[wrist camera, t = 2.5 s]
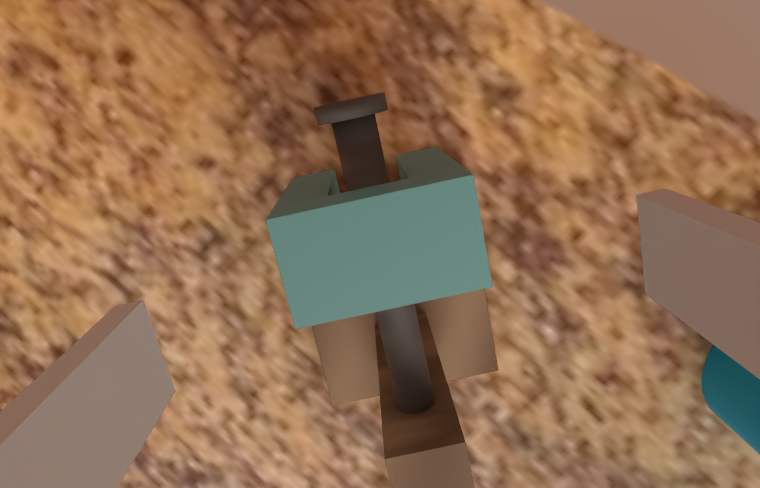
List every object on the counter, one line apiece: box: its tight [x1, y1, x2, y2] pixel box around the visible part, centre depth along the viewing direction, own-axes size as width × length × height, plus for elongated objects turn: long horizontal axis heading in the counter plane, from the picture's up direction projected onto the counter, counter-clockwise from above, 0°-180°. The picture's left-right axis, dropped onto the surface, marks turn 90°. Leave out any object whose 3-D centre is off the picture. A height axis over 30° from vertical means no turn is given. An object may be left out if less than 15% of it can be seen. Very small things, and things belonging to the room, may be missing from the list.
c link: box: [266, 147, 492, 329], centre depth 24 cm, size 7×4×9 cm, turn 102°
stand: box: [312, 93, 498, 488], centre depth 26 cm, size 10×17×14 cm, turn 12°
